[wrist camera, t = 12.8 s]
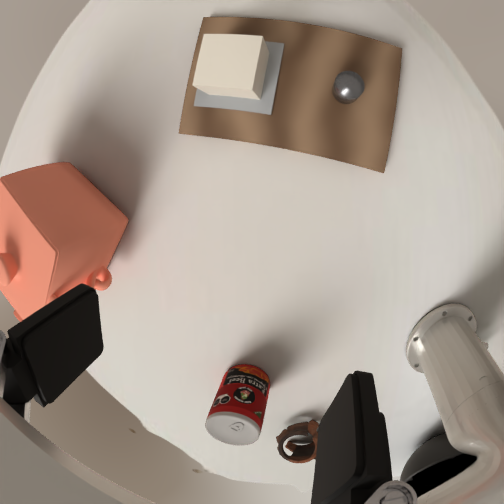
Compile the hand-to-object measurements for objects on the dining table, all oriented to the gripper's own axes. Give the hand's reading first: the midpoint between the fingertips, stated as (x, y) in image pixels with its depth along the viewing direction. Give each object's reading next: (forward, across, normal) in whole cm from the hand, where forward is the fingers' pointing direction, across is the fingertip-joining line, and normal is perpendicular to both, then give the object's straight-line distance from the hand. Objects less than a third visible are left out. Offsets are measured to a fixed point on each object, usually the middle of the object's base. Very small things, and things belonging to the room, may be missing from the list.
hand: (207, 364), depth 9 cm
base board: (+26, +2, -16) cm, 31 cm away
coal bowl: (+28, -47, +39) cm, 67 cm away
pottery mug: (+28, -15, +39) cm, 50 cm away
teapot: (+26, +32, +12) cm, 43 cm away
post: (+25, -4, -16) cm, 30 cm away
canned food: (+27, 0, +27) cm, 38 cm away
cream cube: (+24, +8, -16) cm, 30 cm away
